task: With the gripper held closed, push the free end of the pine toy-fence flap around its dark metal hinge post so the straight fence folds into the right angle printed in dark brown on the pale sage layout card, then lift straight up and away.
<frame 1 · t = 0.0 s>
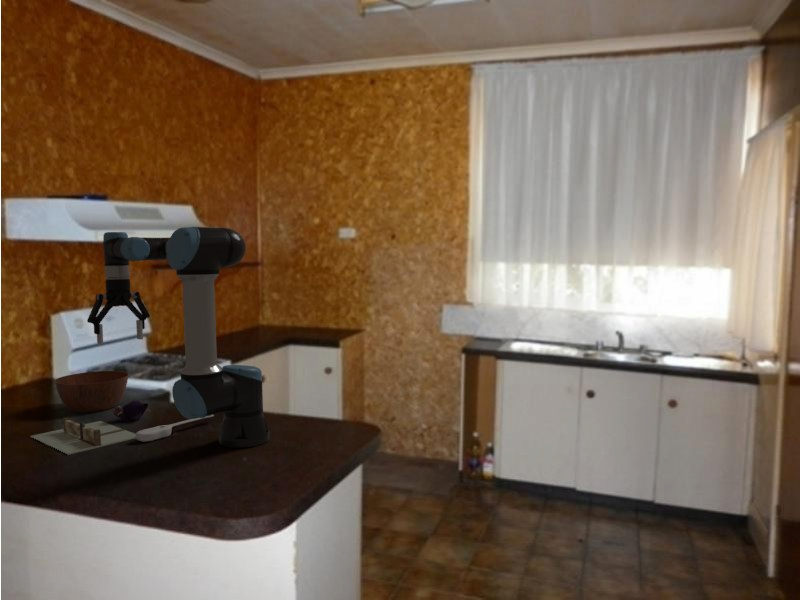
hand: (120, 341, 211), 28 cm above the counter, fingers open, 13 cm apart
fence fixed: (83, 440, 194), resting on layout card
spatula: (177, 432, 202), on the counter
layout card: (85, 437, 198), on the counter
fence flap: (72, 427, 199), point 3 cm above the counter, hinge at 0.0°
toy: (135, 420, 218), on the counter
bowl: (93, 407, 236), on the counter
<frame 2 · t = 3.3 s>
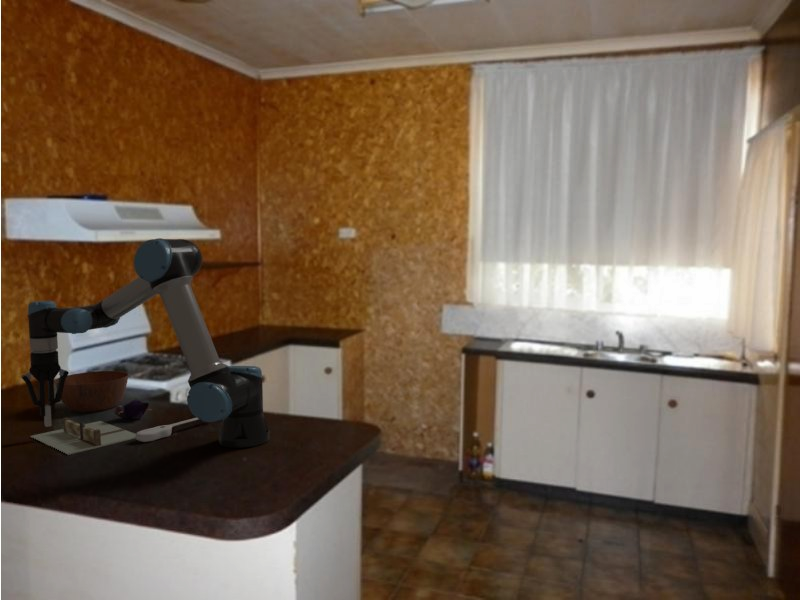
hand: (48, 425, 196), 4 cm above the counter, fingers closed
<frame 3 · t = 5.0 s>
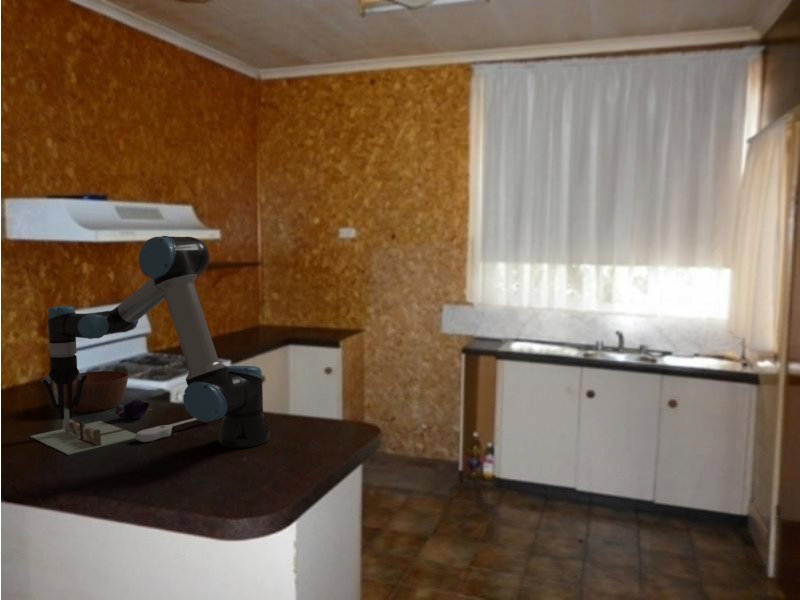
hand: (66, 428, 199), 2 cm above the counter, fingers closed
fence flap: (73, 427, 199), point 3 cm above the counter, hinge at -2.2°, touching gripper
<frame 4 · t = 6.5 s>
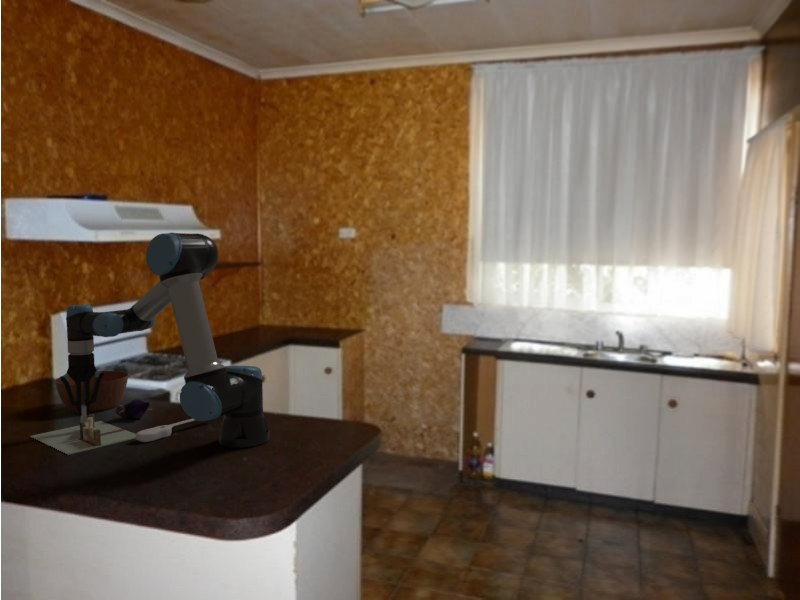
hand: (83, 425, 203), 2 cm above the counter, fingers closed
fence flap: (88, 425, 201), point 3 cm above the counter, hinge at -35.6°, touching gripper
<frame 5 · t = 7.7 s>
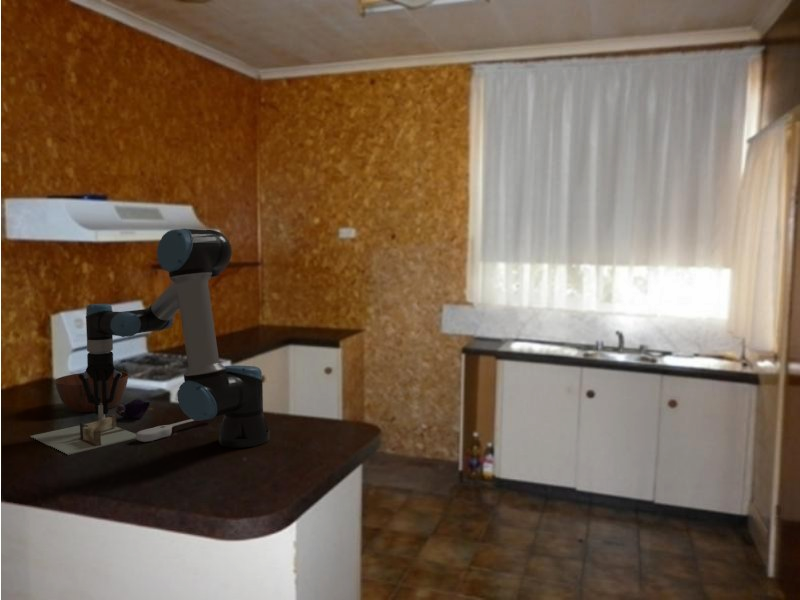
hand: (101, 423, 204), 3 cm above the counter, fingers closed
fence flap: (100, 425, 201), point 3 cm above the counter, hinge at -69.9°, touching gripper
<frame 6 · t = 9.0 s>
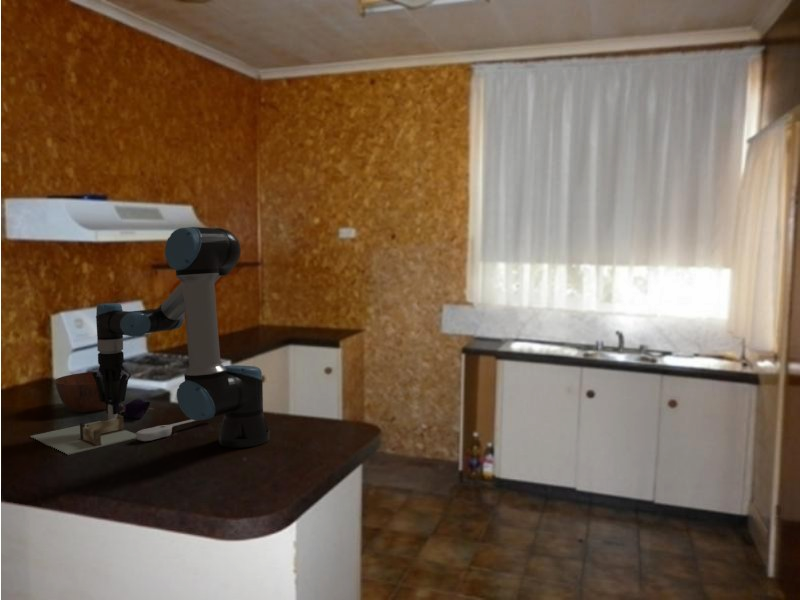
hand: (113, 423, 203), 3 cm above the counter, fingers closed
fence flap: (105, 426, 200), point 3 cm above the counter, hinge at -89.0°, touching gripper
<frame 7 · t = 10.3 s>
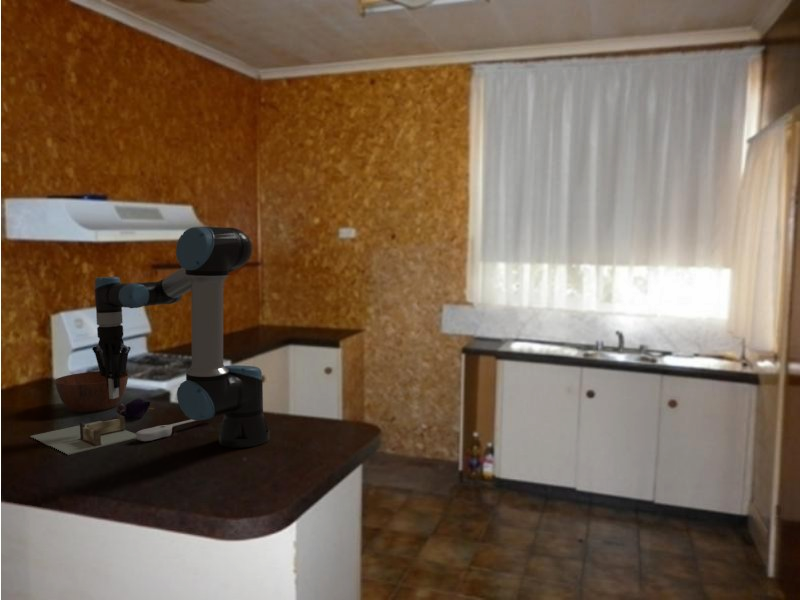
hand: (114, 397, 202), 11 cm above the counter, fingers closed
fence flap: (106, 426, 199), point 3 cm above the counter, hinge at -93.7°
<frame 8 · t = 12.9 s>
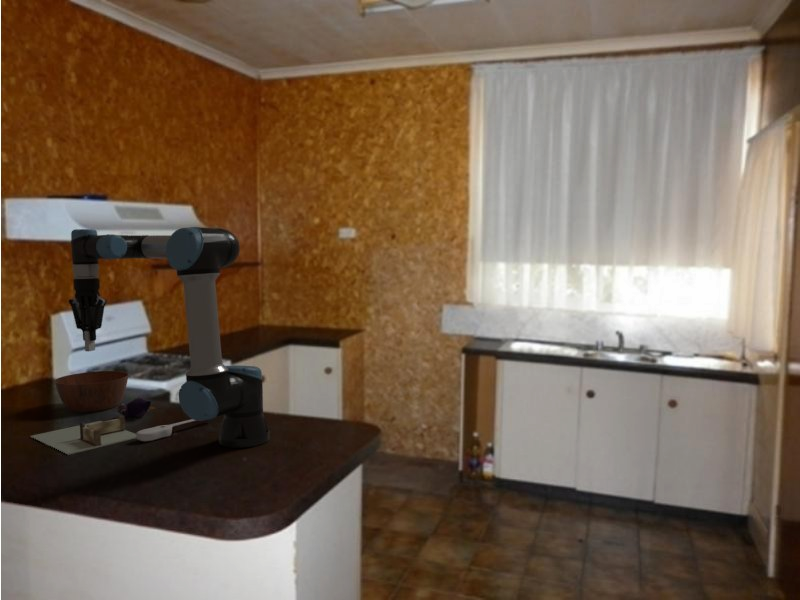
hand: (90, 350, 203), 26 cm above the counter, fingers closed
at the end: fence flap at -94° (first picture: +0°) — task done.
